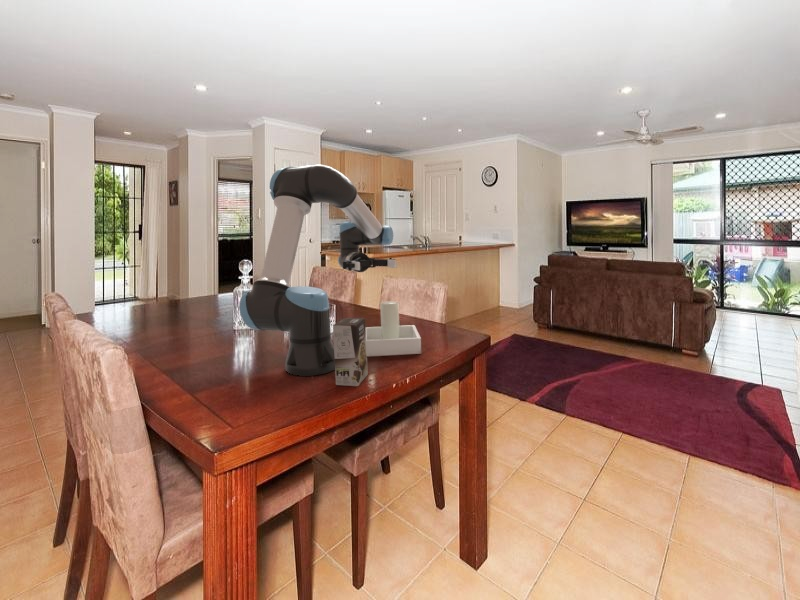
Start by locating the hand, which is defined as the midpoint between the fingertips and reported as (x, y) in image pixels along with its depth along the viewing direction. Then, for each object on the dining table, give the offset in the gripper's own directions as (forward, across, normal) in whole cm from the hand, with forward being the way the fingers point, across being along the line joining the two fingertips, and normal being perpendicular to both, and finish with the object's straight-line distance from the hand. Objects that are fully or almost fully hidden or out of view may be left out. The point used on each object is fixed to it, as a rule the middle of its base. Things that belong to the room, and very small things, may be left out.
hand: (377, 265), depth 149 cm
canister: (+10, 0, -26) cm, 27 cm away
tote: (+10, 0, -27) cm, 28 cm away
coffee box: (+33, +21, -28) cm, 48 cm away
